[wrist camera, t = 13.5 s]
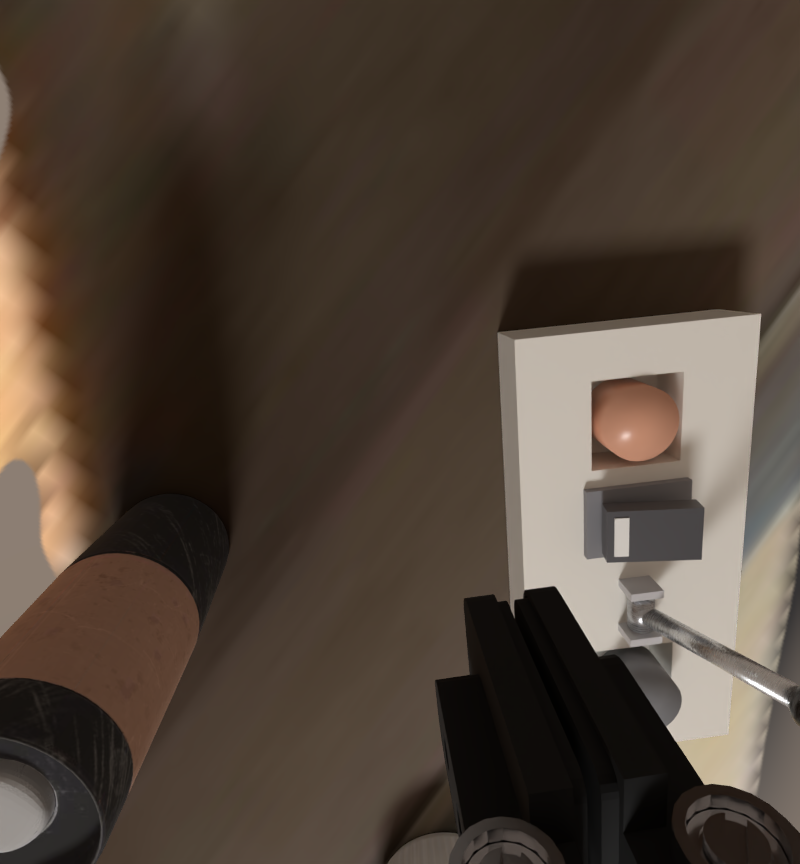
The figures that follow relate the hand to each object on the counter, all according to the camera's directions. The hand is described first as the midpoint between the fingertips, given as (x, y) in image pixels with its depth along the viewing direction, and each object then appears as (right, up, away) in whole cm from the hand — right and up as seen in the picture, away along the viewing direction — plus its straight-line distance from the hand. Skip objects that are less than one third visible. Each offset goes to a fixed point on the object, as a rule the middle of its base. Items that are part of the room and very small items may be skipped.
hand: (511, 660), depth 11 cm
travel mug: (-17, -3, +27) cm, 32 cm away
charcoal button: (+13, -12, +29) cm, 34 cm away
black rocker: (+12, -2, +23) cm, 26 cm away
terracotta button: (+12, +5, +25) cm, 28 cm away
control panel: (+12, -3, +29) cm, 32 cm away
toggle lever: (+13, -7, +25) cm, 29 cm away
